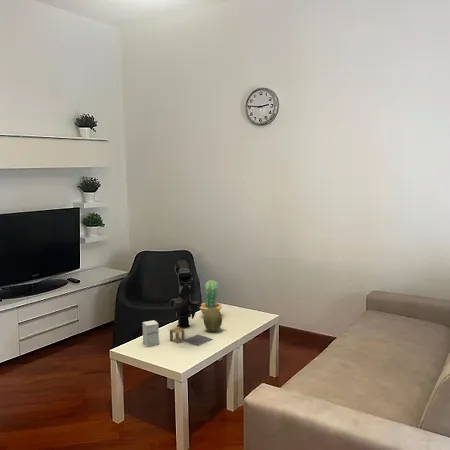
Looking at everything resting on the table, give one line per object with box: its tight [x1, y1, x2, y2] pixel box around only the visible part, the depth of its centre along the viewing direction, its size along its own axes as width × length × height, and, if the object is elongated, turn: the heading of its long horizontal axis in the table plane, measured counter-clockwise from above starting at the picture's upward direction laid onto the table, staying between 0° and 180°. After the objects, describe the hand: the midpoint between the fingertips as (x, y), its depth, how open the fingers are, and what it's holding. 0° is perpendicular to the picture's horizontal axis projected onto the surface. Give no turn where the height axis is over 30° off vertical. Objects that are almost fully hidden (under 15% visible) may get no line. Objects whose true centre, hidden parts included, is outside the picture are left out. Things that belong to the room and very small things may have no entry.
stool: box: [169, 326, 186, 344], centre depth 275 cm, size 6×6×7 cm
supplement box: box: [142, 319, 160, 348], centre depth 270 cm, size 7×7×13 cm
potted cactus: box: [198, 279, 223, 316], centre depth 315 cm, size 15×15×25 cm
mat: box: [183, 334, 214, 347], centre depth 275 cm, size 12×12×1 cm
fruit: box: [203, 307, 223, 332], centre depth 290 cm, size 11×11×15 cm
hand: (185, 317), depth 275 cm, fingers open, 9 cm apart
